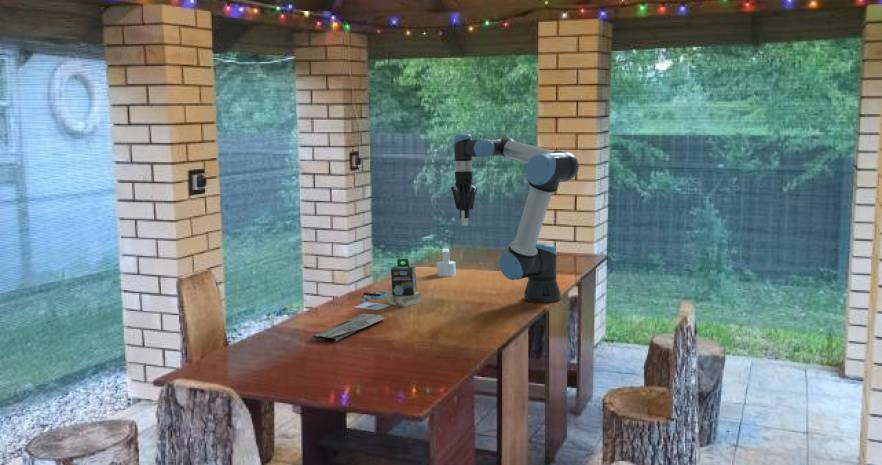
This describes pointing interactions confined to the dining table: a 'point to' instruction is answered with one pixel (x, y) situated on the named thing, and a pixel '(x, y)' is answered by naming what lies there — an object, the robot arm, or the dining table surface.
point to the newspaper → (348, 327)
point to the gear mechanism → (374, 295)
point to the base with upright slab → (446, 265)
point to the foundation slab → (404, 299)
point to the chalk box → (403, 278)
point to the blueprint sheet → (372, 306)
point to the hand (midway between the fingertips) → (464, 225)
